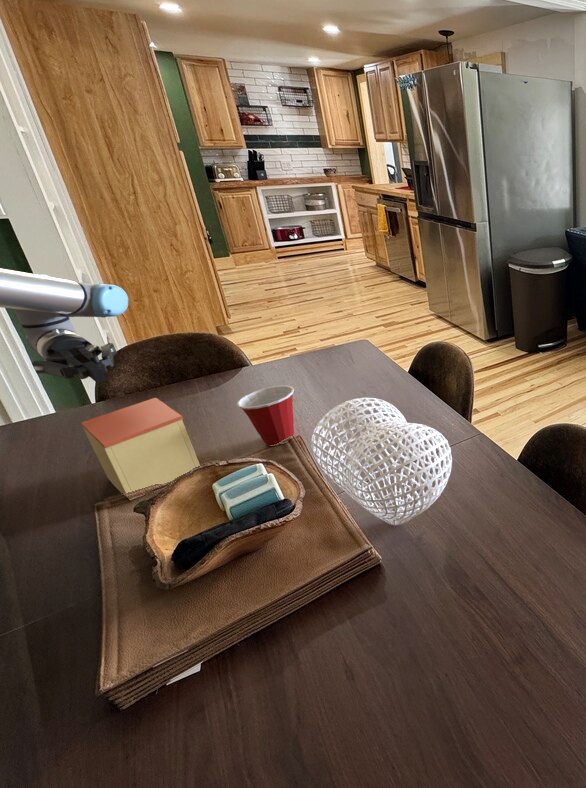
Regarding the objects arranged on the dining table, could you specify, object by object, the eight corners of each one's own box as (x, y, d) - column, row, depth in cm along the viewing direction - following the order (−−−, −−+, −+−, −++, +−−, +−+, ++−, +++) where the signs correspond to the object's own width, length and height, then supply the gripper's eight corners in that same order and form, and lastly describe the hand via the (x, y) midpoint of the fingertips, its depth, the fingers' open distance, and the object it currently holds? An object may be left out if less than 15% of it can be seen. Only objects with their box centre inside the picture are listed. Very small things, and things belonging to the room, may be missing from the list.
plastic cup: (290, 421, 117) (278, 378, 112) (315, 434, 112) (303, 390, 107) (241, 443, 108) (226, 398, 104) (266, 459, 103) (251, 412, 99)
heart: (479, 530, 85) (466, 425, 76) (399, 591, 73) (374, 475, 65) (393, 469, 100) (374, 376, 92) (317, 511, 89) (287, 409, 80)
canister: (201, 469, 100) (181, 417, 95) (130, 502, 91) (103, 447, 86) (177, 450, 106) (157, 400, 101) (108, 479, 97) (82, 426, 92)
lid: (183, 419, 95) (181, 415, 94) (104, 448, 86) (103, 444, 85) (157, 400, 101) (155, 397, 101) (81, 426, 92) (80, 422, 92)
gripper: (15, 344, 101) (44, 371, 89) (98, 325, 111) (134, 348, 99) (32, 375, 104) (62, 405, 92) (111, 354, 114) (147, 379, 102)
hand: (99, 375), depth 96 cm, fingers closed
